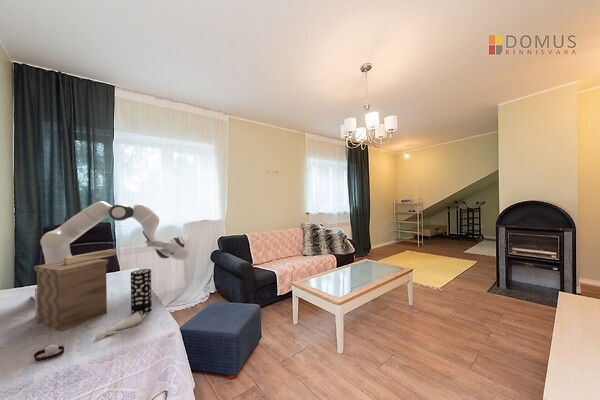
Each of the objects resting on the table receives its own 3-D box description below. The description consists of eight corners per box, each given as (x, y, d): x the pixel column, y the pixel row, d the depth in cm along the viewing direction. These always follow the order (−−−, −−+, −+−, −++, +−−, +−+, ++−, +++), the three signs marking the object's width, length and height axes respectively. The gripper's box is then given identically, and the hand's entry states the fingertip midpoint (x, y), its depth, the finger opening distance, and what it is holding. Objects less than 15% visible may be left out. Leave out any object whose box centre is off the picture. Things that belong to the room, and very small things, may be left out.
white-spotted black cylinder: (155, 309, 116) (154, 269, 116) (137, 317, 109) (137, 274, 109) (145, 306, 120) (144, 268, 120) (127, 314, 112) (126, 272, 112)
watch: (67, 350, 85) (67, 340, 85) (60, 358, 81) (60, 347, 81) (38, 356, 82) (38, 345, 82) (29, 364, 78) (29, 353, 78)
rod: (64, 264, 107) (64, 257, 107) (112, 254, 126) (112, 248, 126) (67, 264, 106) (67, 258, 106) (115, 254, 125) (115, 249, 125)
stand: (35, 323, 104) (34, 266, 104) (84, 306, 121) (83, 256, 121) (60, 332, 97) (59, 270, 97) (108, 312, 114) (107, 259, 114)
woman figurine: (150, 312, 104) (101, 336, 88) (151, 322, 104) (103, 347, 88) (136, 307, 109) (87, 329, 94) (137, 316, 110) (89, 339, 94)
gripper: (159, 243, 162) (142, 236, 151) (181, 245, 155) (165, 237, 143) (155, 252, 159) (137, 245, 148) (177, 254, 152) (160, 247, 140)
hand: (151, 241), depth 145 cm, fingers open, 8 cm apart
